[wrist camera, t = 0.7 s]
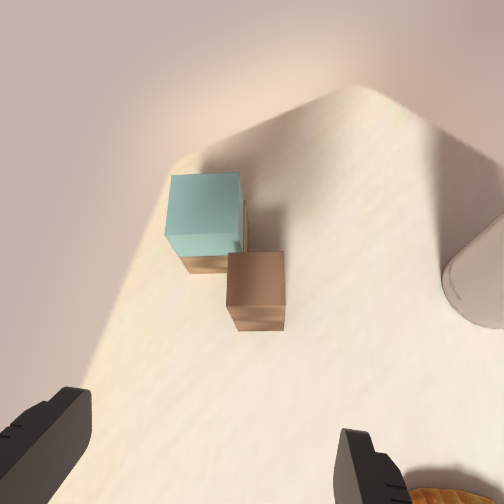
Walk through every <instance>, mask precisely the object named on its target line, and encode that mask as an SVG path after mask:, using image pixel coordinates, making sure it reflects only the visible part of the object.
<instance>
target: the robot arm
mask: <svg viewBox="0 0 504 504" xmlns="http://www.w3.org/2000/svg"><path fill="white" fill-rule="evenodd" d="M442 283H443V289H444V292H445V295H446V297H447V299H448V300H449V302H450V304H451V305H452V306H453V307H454V308H455V310H456V311H457V312H458V313H459V314H461V315H462V316H463V317H464V318H466V319H467V320H469V321H471V322H473V323H474V324H477V325H480V326H483V327H487V328H492V329H504V212H503V213H502V214H501V215H500V216H499V217H498V218H497V219H495V220H494V221H493V222H492V223H491V224H490V225H489V226H488V227H486V228H485V229H484V230H483V231H482V232H481V233H480V234H479V235H477V236H476V237H475V238H474V239H473V240H472V241H471V242H469V243H468V244H467V245H466V246H465V247H464V248H463V249H462V250H460V251H459V252H458V253H457V254H456V255H455V256H454V257H452V258H451V259H450V260H449V262H448V263H447V264H446V266H445V269H444V271H443V277H442ZM91 433H92V403H91V392H90V391H89V390H87V389H80V388H73V387H63V388H62V389H61V390H60V391H59V392H58V393H57V394H56V395H55V396H53V397H52V398H51V399H50V400H49V401H48V402H47V401H42V402H40V403H38V404H37V405H35V406H33V407H31V408H29V409H27V410H26V411H24V412H23V413H22V414H21V415H20V416H19V417H18V418H16V419H15V420H14V421H13V422H12V423H11V424H10V426H9V427H6V428H5V429H4V430H3V431H2V432H1V433H0V504H47V503H48V502H49V501H50V499H51V498H52V496H53V495H54V494H55V492H56V491H57V490H58V488H59V487H60V485H61V484H62V483H63V481H64V480H65V479H66V477H67V476H68V474H69V473H70V472H71V470H72V469H73V467H74V466H75V465H76V463H77V462H78V461H79V459H80V458H81V456H82V455H83V454H84V452H85V450H86V449H87V446H88V444H89V441H90V438H91ZM333 488H334V497H335V504H412V500H411V498H410V495H409V492H408V491H407V490H406V485H405V482H404V480H403V477H402V475H401V472H400V470H399V468H398V467H397V466H396V465H395V463H394V462H393V461H392V460H391V459H390V457H389V456H388V455H387V454H385V453H378V452H375V450H374V447H373V444H372V441H371V438H370V435H369V433H368V432H366V431H359V430H352V429H345V428H343V429H342V430H341V434H340V439H339V445H338V450H337V456H336V461H335V467H334V476H333Z"/></svg>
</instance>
